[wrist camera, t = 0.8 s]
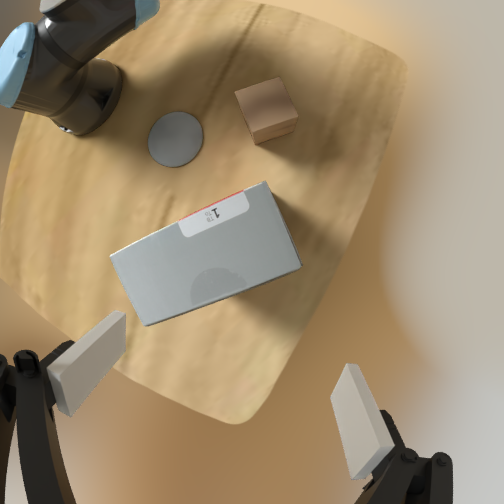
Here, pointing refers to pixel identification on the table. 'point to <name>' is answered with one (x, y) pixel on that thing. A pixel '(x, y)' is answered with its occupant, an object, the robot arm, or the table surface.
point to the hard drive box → (208, 256)
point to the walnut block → (267, 110)
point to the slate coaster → (175, 139)
